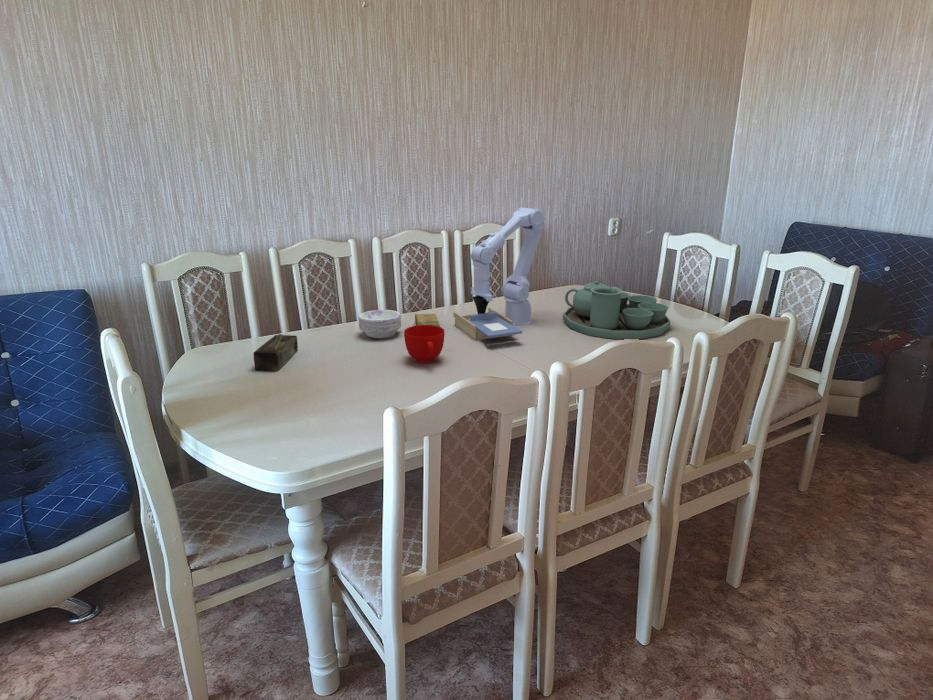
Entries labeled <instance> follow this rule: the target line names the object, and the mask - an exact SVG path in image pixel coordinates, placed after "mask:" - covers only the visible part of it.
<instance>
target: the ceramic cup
mask: <svg viewBox="0 0 933 700" xmlns="http://www.w3.org/2000/svg"><path fill="white" fill-rule="evenodd" d="M403 336H404V337H403V338H404V344H405V348H406V351H407V353H408V354H409V356H410V357H411V358H412V359H413V361H414V362H416V363H418V364H430V362H431V363H433V362H435V361H436V360H437V358H438V357H439V356H440V355H441V353H442V350H443V348H444V345H445V344H444V342H445V329H444V328H443V327H441V326H440V327H439V326H435V325H412V326H408V327H407V328H405V329H404V330H403Z"/></svg>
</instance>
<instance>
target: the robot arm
mask: <svg viewBox="0 0 933 700" xmlns="http://www.w3.org/2000/svg"><path fill="white" fill-rule="evenodd" d="M545 219H546V218H545V216H544V213H543V211H542V210H541V209H539V208H530V207H524V206H520V207H518V208H517V209H516V210H515V211H514V212H513V214H512V217H511V218H510V219H509V220H508V221H507V222H506V223H505V225H504V226H503V227H502V228H501V229H500V230H499V231H498V232H497V231H495V232H491V233H490V234H489V236H488V238H486V239H485V240H484V241H482V242H481V243H480V245H477V246H475V247H474V248H473V249H472V251H471V253H470V259H471V260H472V265H473V286H471V290H470V294H471V295H472V300H473V302H474V304H475V308H476V312H477V313H476V314H482V313H487V312H486V311H487V309H488V305H489V303H490V302H492V301H493V295H492V293H491V291H490V265H491V262H492V261H493V260H494V256H495V254H496V253H497V252H498V251H499V250H501V248H502V247H503V246H504V245H505V243H506V239H507V238H508V237H509V236H511V235H512V234H513V233H515V232H516V231H517V229H519V228H521V229H522V230H523V232H524V234H525V236H524V240H523V242H522V245H521V249H520V251H519V255H518V257H517V260H516V264H515V267H514V270H513V273H512V274H511V275H509V276H507V278H506V281H505V282H504V284H503V285H502V288H501V295H502V296H503V298H504V300H505V311H504V312H505V315H504V316H505V317H506V318H508V319H510V320H512V321H513V326H517V325H526V324H528V325H529V324H530V325H531V324H532V321H531V317H532V316H531V315H532V305H531V302H530V301H529V300H528V298H529V296H530V287H531V284H530V282H529V280H528V276H529V272H530V271H531V270H530V269H531V266H532V263H533V261H534V257H535V254H536V252H537V248H538V245H539V242H540V240H541V235H542V228H543V226H544V222H545ZM473 295H474V296H473Z"/></svg>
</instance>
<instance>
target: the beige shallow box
mask: <svg viewBox="0 0 933 700" xmlns="http://www.w3.org/2000/svg"><path fill="white" fill-rule="evenodd" d="M487 309H488V310H487V312H486V313H490V312H496V316H498V317H499V318H501V319H503V320H504V321H506V322H508V323H509V324H511V325H513V321H512V320H510V319H508V318H506V317H505V315H503V314H501V313H499V312H498V311H496V310H494V309H492V308H491V307H487ZM452 313H453V314H452V315H453V318H454V326H456V327H457V328H458V329H460V330H461V331H463V332H464V333H466V334H467V335H468V336H469V337H471V338H472V339H473V340H475V341H482V340H483V341H484V340H487V339H488V340H489V339H495V338H503V337H511V336H512V335H506V336H499V337H492V338H488V337H487V336H485V335H484V334H482V333H481V332H479V331H478V330H477V329H476V326H475V325H474V324H472V323H471V322H469V321H468V320H469V318H470V315H473V314H474V313H473V314H465V315H464V314H463V315H460V314H459V313H458V312H455V311H453V312H452ZM513 326H514V325H513Z"/></svg>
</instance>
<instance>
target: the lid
mask: <svg viewBox="0 0 933 700" xmlns="http://www.w3.org/2000/svg"><path fill="white" fill-rule="evenodd" d="M496 312H497V311H496ZM496 312H490V313H487V312H485V313H482V314H478V313H473V315H471V314H469V315H470V320H468V321H469V322H471V323H472V324H474V325H475V326H476V329H477V330H478V331H479V332H481V333H482V334H484V335H485V336H487V337H488V338H490V339H493V338H492V337H497V338H500V337H499V336H505V337H507V336H506V335H511V336H512V335H518V334H523V330H522V329H520V328H517V327H516V326H515V325H511V324H509V323H508V322H506V321H504V320H503V319H501V318H499V317H498V316H496Z"/></svg>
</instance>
